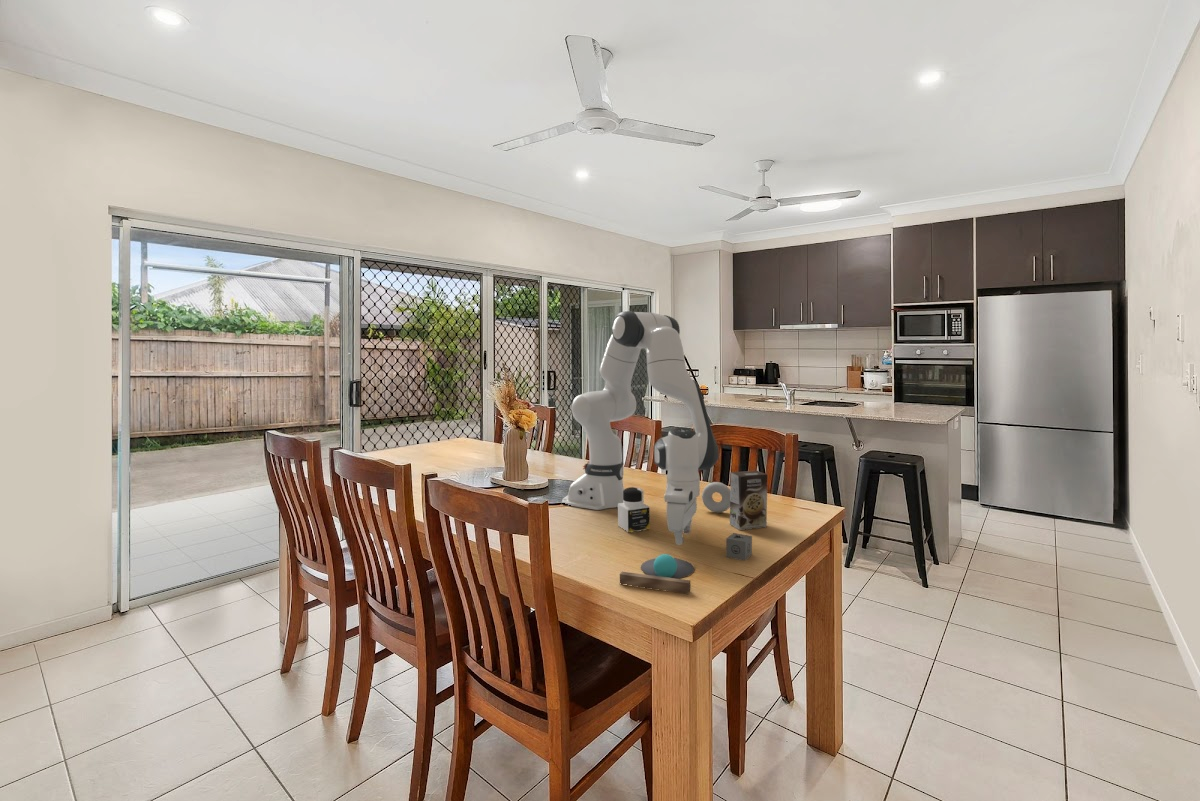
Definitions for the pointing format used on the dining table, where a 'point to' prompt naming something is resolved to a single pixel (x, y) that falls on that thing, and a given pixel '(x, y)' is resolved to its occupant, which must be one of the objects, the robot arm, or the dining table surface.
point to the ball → (665, 566)
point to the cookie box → (748, 500)
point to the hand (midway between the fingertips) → (683, 538)
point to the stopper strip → (655, 582)
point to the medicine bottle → (633, 511)
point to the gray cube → (739, 546)
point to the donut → (708, 499)
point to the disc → (682, 570)
